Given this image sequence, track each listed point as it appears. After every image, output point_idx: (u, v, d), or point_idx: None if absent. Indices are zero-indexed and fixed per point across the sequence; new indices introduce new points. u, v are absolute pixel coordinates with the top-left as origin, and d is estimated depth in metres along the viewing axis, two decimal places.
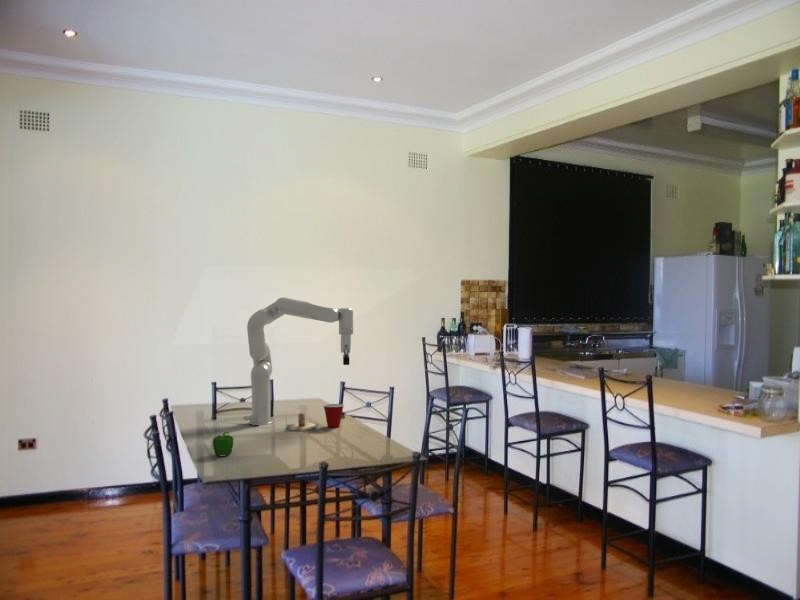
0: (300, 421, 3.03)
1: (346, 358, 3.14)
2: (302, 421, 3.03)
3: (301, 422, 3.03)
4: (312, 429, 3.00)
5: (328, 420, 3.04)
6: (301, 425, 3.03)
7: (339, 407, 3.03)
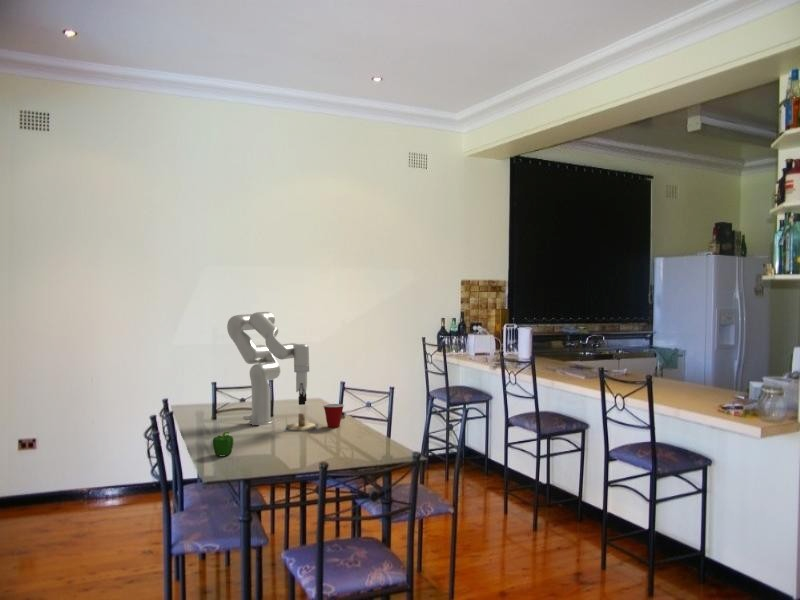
0: (300, 421, 3.03)
1: (301, 397, 2.98)
2: (302, 421, 3.03)
3: (301, 422, 3.03)
4: (312, 429, 3.00)
5: (328, 420, 3.04)
6: (301, 425, 3.03)
7: (339, 407, 3.03)
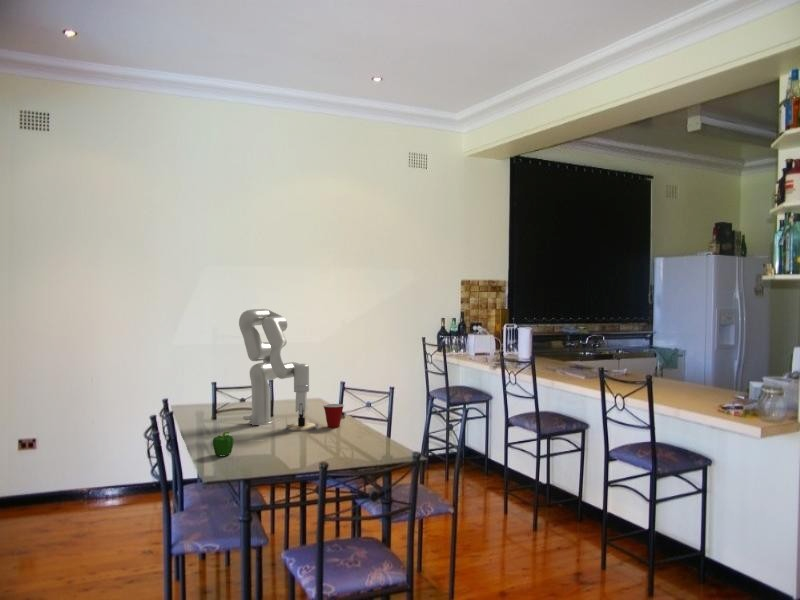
0: None
1: (301, 419, 3.01)
2: None
3: None
4: (312, 429, 3.00)
5: (328, 420, 3.04)
6: None
7: (339, 407, 3.03)
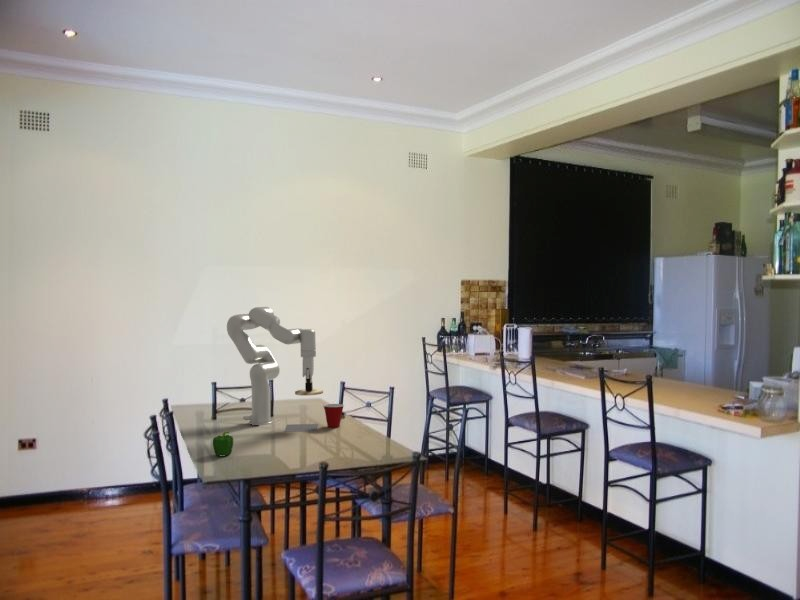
0: None
1: (308, 384, 3.01)
2: None
3: None
4: (312, 429, 3.00)
5: (328, 420, 3.04)
6: None
7: (339, 407, 3.03)
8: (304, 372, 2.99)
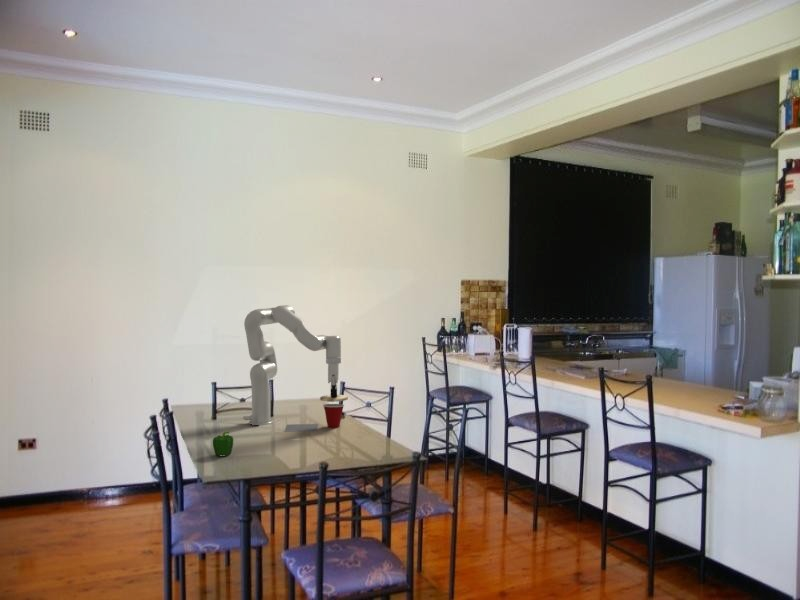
0: None
1: (333, 390, 3.03)
2: None
3: None
4: (312, 429, 3.00)
5: (328, 420, 3.04)
6: None
7: (339, 407, 3.03)
8: (330, 378, 3.01)
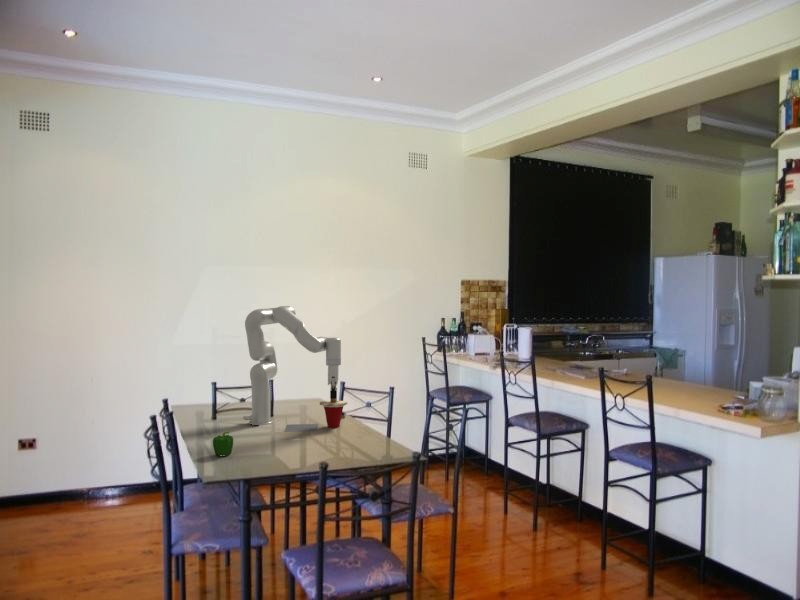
0: None
1: (333, 392, 3.02)
2: None
3: None
4: (312, 429, 3.00)
5: (328, 420, 3.04)
6: (333, 401, 3.05)
7: (339, 407, 3.03)
8: (330, 380, 3.01)
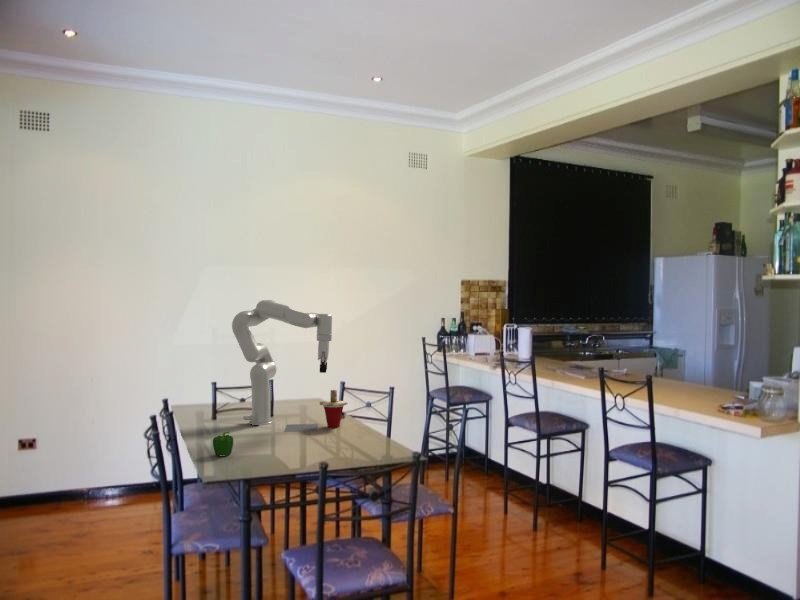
0: (332, 397, 3.05)
1: (323, 366, 3.04)
2: (334, 397, 3.05)
3: (333, 398, 3.05)
4: (312, 429, 3.00)
5: (328, 420, 3.04)
6: (333, 401, 3.05)
7: (339, 407, 3.03)
8: (319, 355, 3.04)
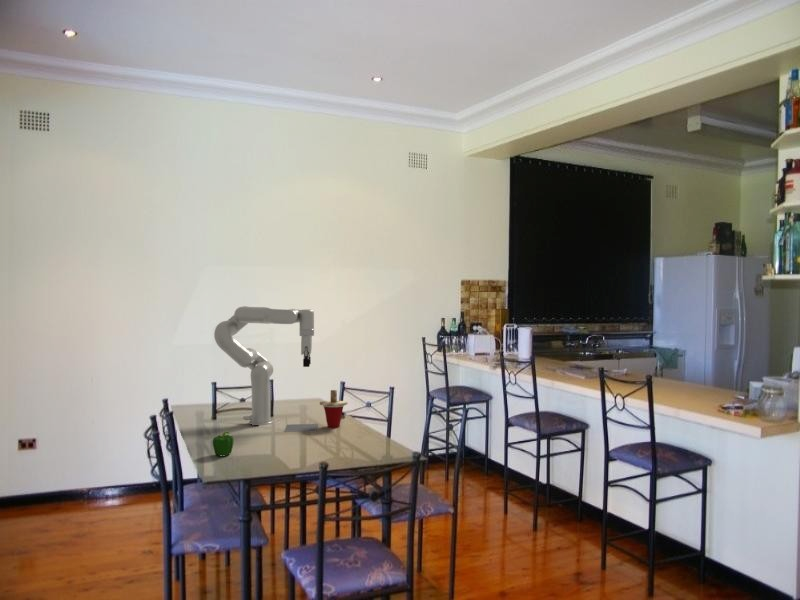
0: (332, 397, 3.05)
1: (306, 360, 3.11)
2: (334, 397, 3.05)
3: (333, 398, 3.05)
4: (312, 429, 3.00)
5: (328, 420, 3.04)
6: (333, 401, 3.05)
7: (339, 407, 3.03)
8: (303, 350, 3.11)
